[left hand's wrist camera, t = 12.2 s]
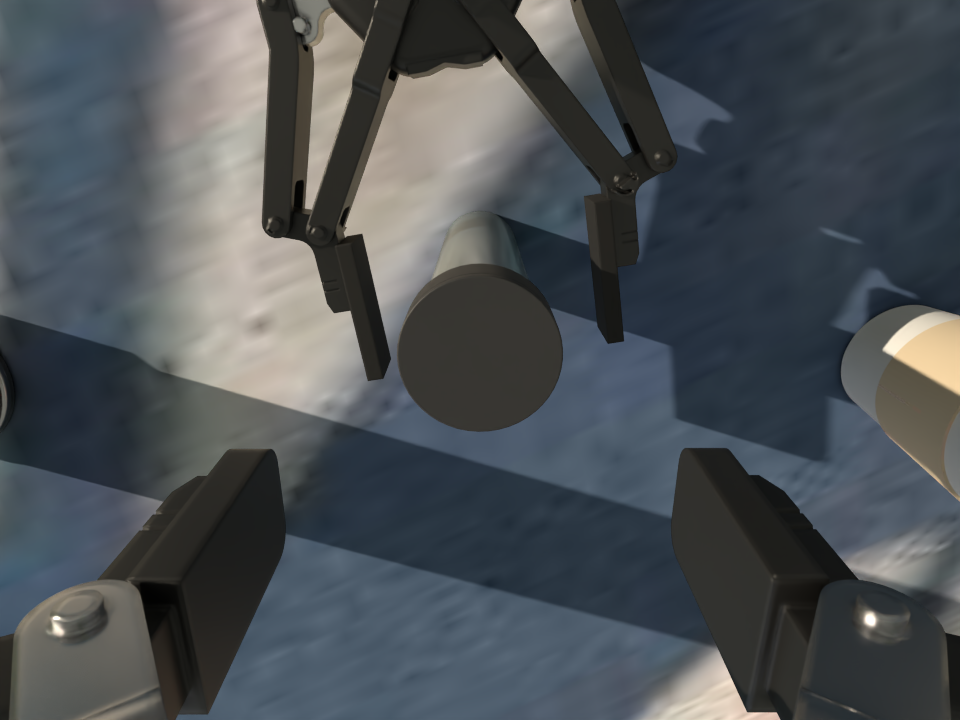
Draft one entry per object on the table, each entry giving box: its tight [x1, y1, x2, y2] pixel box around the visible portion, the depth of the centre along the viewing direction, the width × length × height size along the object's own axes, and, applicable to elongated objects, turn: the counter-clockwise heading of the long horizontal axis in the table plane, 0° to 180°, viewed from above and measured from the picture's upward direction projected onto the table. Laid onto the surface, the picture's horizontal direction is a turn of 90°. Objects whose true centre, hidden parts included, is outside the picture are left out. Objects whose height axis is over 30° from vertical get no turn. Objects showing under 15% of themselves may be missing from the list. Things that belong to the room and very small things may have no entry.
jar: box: [431, 211, 529, 280], centre depth 27 cm, size 4×4×18 cm
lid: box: [397, 263, 563, 432], centre depth 19 cm, size 5×5×2 cm
